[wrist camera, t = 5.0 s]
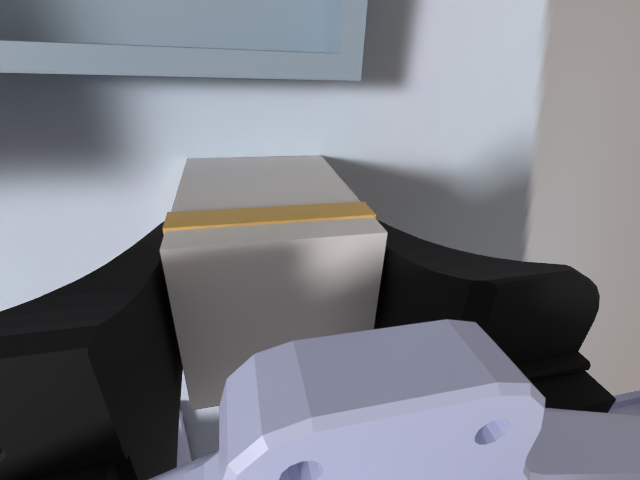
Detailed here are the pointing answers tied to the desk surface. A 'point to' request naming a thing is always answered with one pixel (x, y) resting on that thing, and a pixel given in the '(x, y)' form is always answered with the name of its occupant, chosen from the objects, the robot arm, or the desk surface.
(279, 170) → the part block
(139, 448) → the robot arm
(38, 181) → the desk surface
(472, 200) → the desk surface
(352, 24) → the tray
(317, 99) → the desk surface
